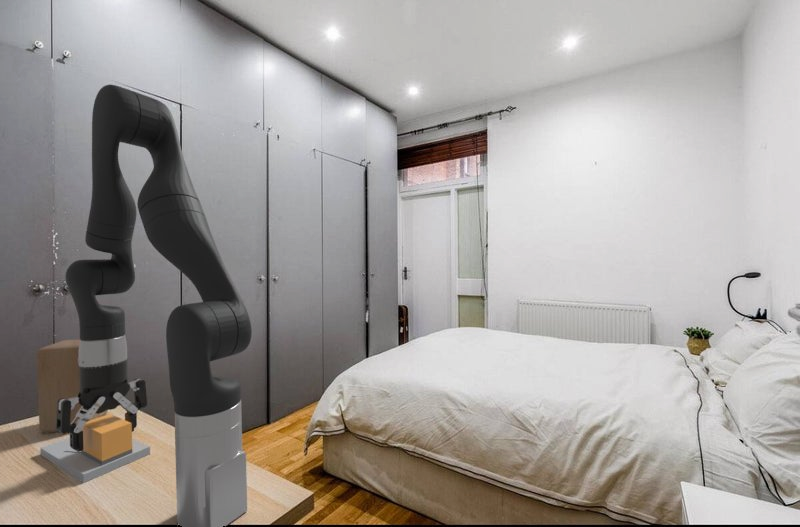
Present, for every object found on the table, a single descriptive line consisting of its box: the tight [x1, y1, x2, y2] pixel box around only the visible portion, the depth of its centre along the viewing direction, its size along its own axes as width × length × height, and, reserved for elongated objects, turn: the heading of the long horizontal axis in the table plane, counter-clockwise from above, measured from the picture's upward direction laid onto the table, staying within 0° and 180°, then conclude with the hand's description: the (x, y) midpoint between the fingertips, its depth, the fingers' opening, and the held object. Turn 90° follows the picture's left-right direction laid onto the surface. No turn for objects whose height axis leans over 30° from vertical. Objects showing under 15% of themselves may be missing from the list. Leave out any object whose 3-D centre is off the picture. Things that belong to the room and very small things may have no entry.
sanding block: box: [81, 413, 133, 465], centre depth 73 cm, size 9×5×6 cm, turn 61°
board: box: [39, 437, 151, 484], centre depth 75 cm, size 20×11×2 cm, turn 61°
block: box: [36, 338, 109, 434], centre depth 90 cm, size 10×10×20 cm
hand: (105, 440), depth 73 cm, fingers open, 8 cm apart
